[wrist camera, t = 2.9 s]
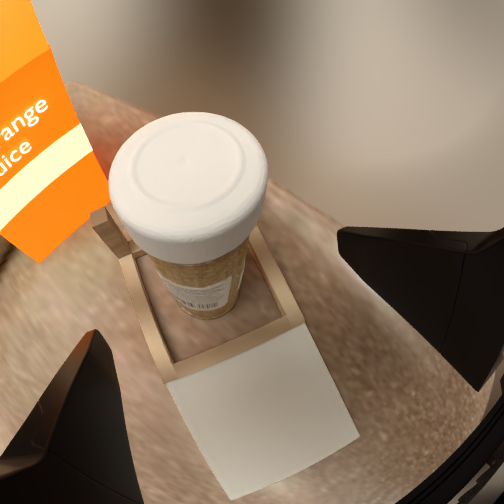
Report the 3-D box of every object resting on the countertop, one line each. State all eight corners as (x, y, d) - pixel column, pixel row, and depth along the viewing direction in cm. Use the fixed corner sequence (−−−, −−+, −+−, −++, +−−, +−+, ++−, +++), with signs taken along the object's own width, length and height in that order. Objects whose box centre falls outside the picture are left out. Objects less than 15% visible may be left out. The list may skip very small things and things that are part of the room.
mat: (356, 434, 17) (360, 436, 16) (230, 497, 14) (230, 500, 14) (299, 318, 20) (301, 317, 19) (164, 377, 17) (163, 377, 17)
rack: (301, 323, 19) (334, 307, 14) (167, 382, 17) (144, 391, 11) (241, 205, 22) (249, 155, 17) (119, 251, 20) (89, 212, 14)
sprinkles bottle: (249, 275, 20) (296, 138, 8) (219, 333, 19) (218, 273, 6) (193, 246, 21) (168, 91, 8) (160, 300, 19) (73, 192, 7)
